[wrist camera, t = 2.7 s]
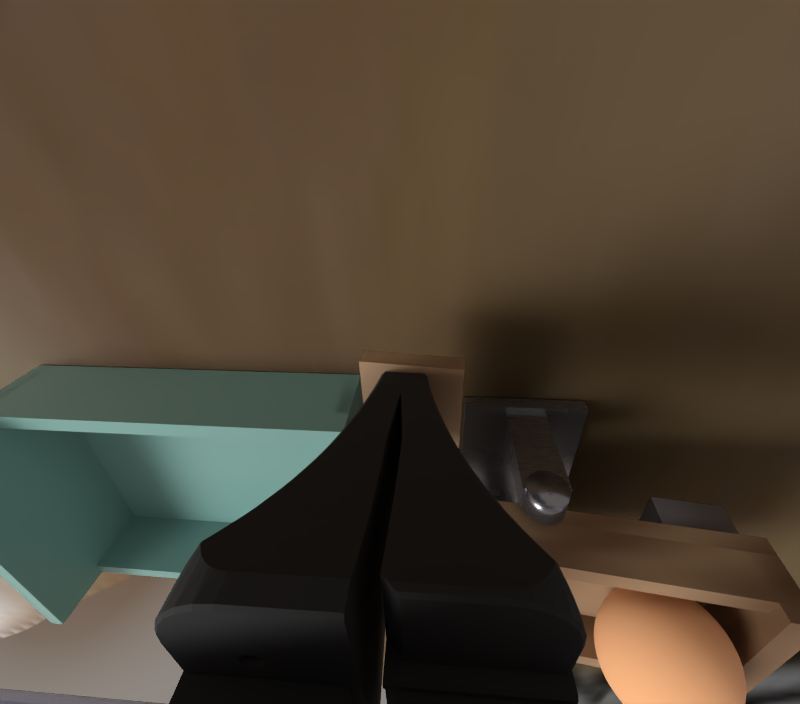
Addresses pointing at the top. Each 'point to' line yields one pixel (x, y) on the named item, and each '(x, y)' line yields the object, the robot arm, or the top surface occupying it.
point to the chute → (645, 547)
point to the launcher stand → (524, 450)
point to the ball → (665, 651)
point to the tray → (146, 466)
